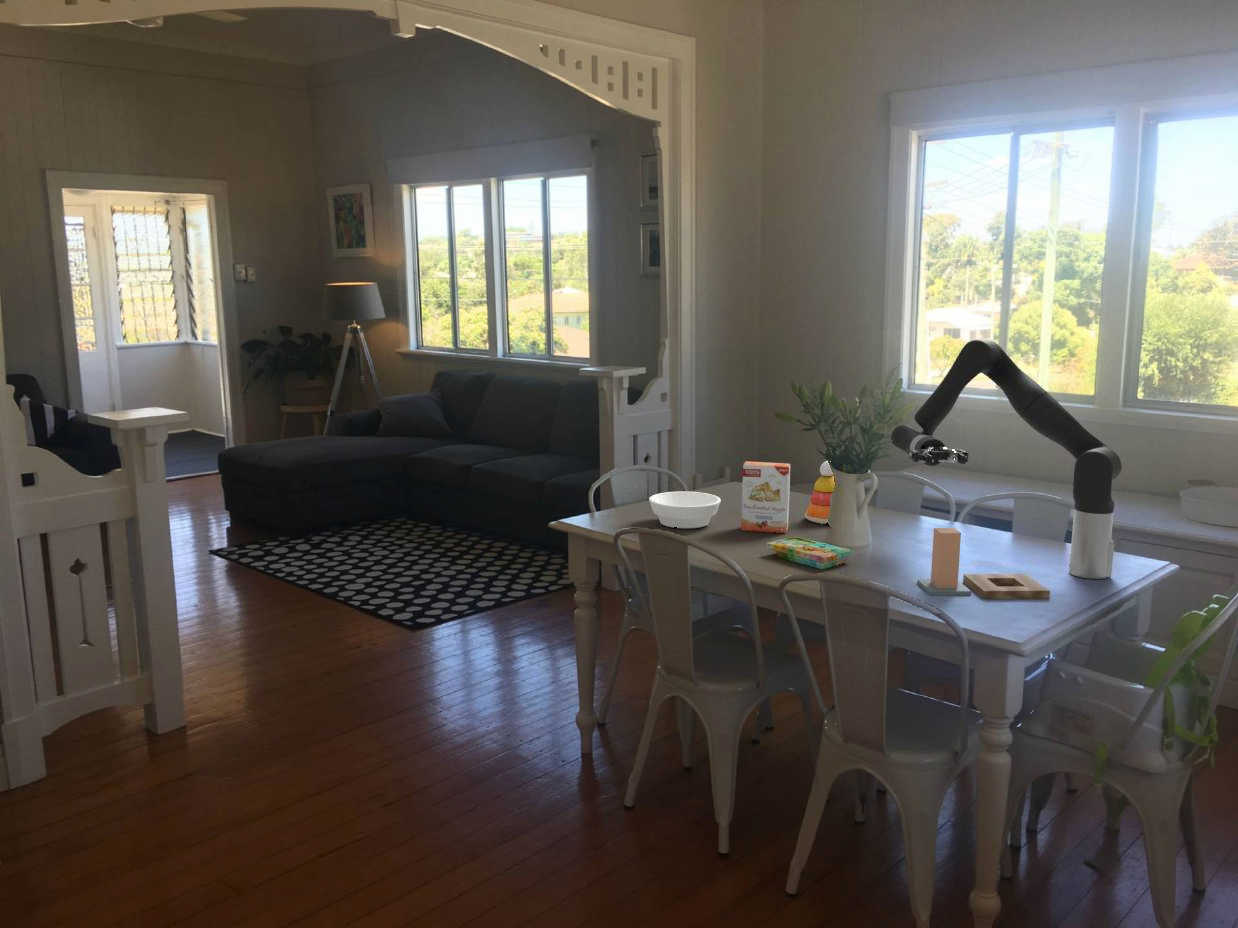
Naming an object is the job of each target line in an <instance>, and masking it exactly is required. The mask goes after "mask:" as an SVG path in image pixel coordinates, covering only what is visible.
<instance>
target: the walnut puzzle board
mask: <svg viewBox="0 0 1238 928" xmlns="http://www.w3.org/2000/svg"><path fill="white" fill-rule="evenodd" d="M962 583H964V584H965V586H968V587H969V588H970V589H971V591H973V592H975V593H976V594H977V595H978V596H979V597H981V598H982V599H983V600H1001V599H1002V600H1024V599H1025V600H1028V599H1029V600H1031V599H1032V600H1033V599H1034V600H1035V599H1036V600H1038V599H1043V600H1044V599H1045V600H1047V599H1050V598H1051V590H1050V589H1048V588H1047V587H1045V586H1044V585H1042V584H1041V583H1040V582H1038V581H1037V580H1035V579H1034V578H1032V577H1031V576H1029V575H1028V574H1027V573H991V574H990V573H976V574H975V573H972V574H971V573H963V579H962Z"/></svg>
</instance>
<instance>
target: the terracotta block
mask: <svg viewBox="0 0 1238 928" xmlns="http://www.w3.org/2000/svg"><path fill="white" fill-rule="evenodd" d="M932 538H933V539H932V553H931V573H930V579H931V583H932V584H933V585H934V586H935V587H936V588H957V587H958V581H959V571H960V570H959V569H960V568H959V567H960V556H961V555H960V554H961V551H960V550H961V539H962V533H961V532H960V531H959V530H957V529H956V528H955V527H933V537H932Z"/></svg>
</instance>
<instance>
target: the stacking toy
mask: <svg viewBox="0 0 1238 928" xmlns="http://www.w3.org/2000/svg"><path fill="white" fill-rule="evenodd" d="M828 461H829V460H825V461H824V462H822V464H820V466H819V467H820V468H819V473H820V475H822V476H820V477H819V478H818V479H817V480H816V481H815V483H814V486H813V492H812V493H811V496H810V503H809V505H808V507H807V511H806V512H805V514H804V516H805V518H806V519H807V520H808V521H810V522H813V523H817V524H819V523H820V524H819V525H825V524H826V523H827V522H828V515H829V511H830V498H831V496H832V493H833V491H834V487H835V482H834V477H835V476H834V475H835V473H834V474H833V472H832V470H831V468H830V465H829V463H828Z"/></svg>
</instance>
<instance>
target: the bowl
mask: <svg viewBox="0 0 1238 928" xmlns="http://www.w3.org/2000/svg"><path fill="white" fill-rule="evenodd" d="M648 501H649V504H650V506H651V510H652V513H653V514H655V515H656V516H657V517H658V519H659V522H660V524H661V525H663V526H666V527H670V528H674V527H677V528H676V529H697V528H703V527H706V526H707V525H709V524H710V521H711V518H712V517H714V516H715V515H716V514H717V513H718V510H719V507H720V505H721V502H722V500H721V498H720V497H719V496H717V495H714V494H710V493H706V492H700V491H667V492H666V491H665V492H661V493H656V494H653V495H651V496H649V498H648Z"/></svg>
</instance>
